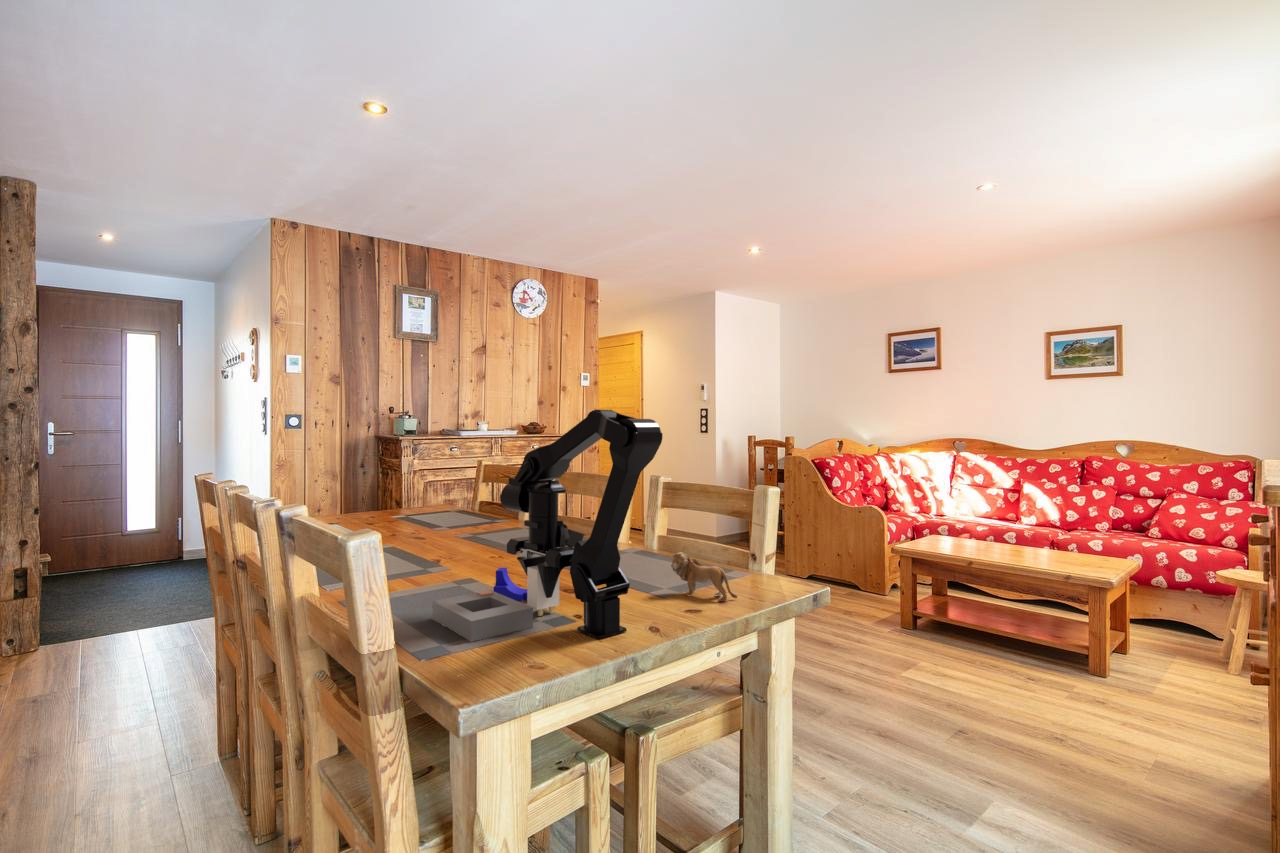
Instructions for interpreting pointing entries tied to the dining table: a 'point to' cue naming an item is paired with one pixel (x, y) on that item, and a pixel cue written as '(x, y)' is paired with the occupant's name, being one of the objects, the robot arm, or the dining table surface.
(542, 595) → the plug
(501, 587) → the blue pipe saddle bracket
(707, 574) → the lion figurine
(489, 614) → the socket block
